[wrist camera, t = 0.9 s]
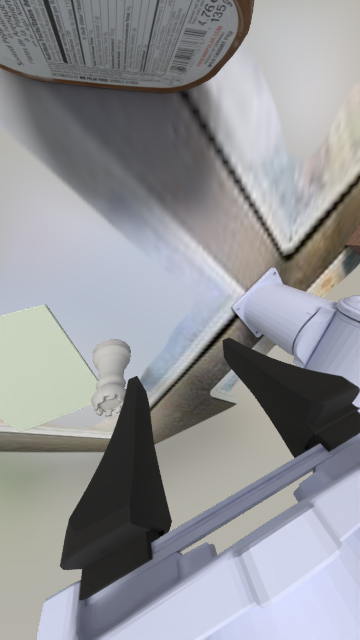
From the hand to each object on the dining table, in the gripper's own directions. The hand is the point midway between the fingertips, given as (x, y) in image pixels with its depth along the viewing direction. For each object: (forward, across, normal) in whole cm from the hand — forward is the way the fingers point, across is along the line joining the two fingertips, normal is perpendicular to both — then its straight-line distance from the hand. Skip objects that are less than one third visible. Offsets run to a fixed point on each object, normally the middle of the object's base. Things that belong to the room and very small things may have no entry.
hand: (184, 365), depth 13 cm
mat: (+9, +17, +2) cm, 19 cm away
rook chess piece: (+10, +7, +3) cm, 12 cm away
